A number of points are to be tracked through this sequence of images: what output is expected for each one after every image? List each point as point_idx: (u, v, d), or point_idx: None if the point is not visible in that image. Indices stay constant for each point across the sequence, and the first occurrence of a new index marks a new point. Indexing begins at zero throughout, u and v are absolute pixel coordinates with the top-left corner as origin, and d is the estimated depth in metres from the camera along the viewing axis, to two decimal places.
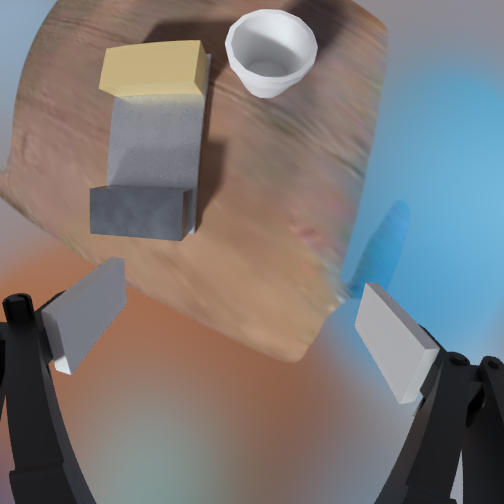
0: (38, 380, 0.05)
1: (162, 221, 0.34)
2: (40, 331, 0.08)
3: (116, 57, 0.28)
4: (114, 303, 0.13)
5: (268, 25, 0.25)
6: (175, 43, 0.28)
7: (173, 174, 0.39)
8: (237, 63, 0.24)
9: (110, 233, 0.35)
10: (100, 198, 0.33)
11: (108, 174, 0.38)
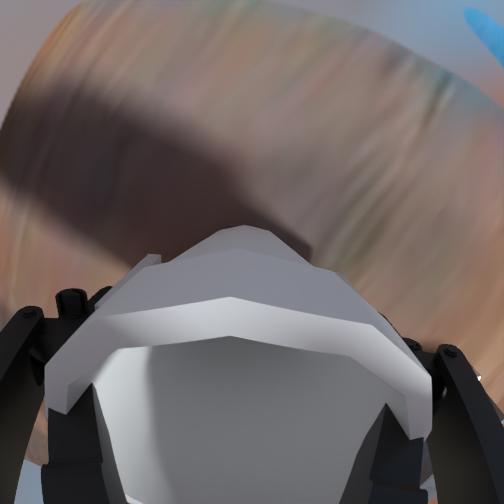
0: None
1: None
2: None
3: None
4: None
5: (117, 395, 0.08)
6: None
7: None
8: None
9: None
10: None
11: None
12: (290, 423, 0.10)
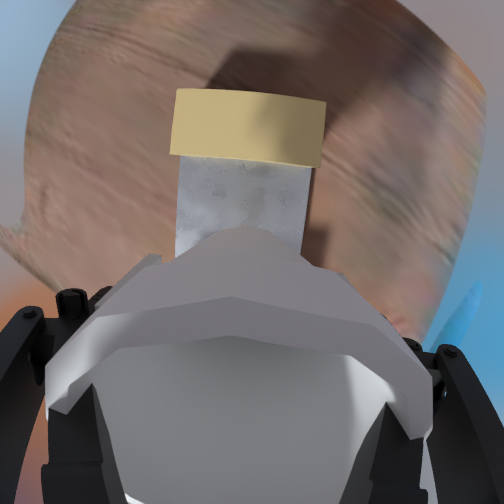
0: None
1: None
2: None
3: (195, 106, 0.22)
4: None
5: (118, 395, 0.08)
6: (290, 100, 0.22)
7: None
8: None
9: None
10: None
11: None
12: (290, 423, 0.10)
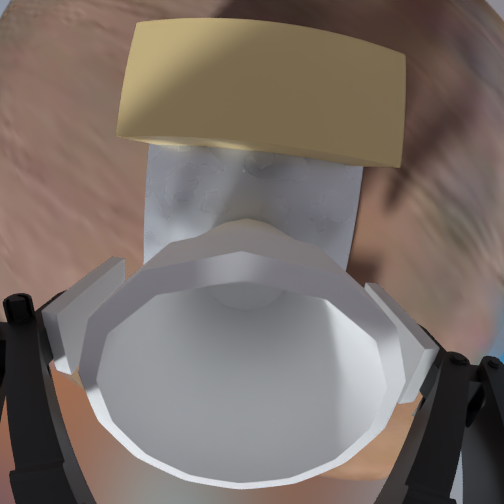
0: (38, 380, 0.05)
1: None
2: (40, 331, 0.08)
3: (167, 48, 0.10)
4: None
5: (137, 359, 0.10)
6: (347, 42, 0.10)
7: None
8: (310, 472, 0.08)
9: None
10: None
11: None
12: (287, 391, 0.12)
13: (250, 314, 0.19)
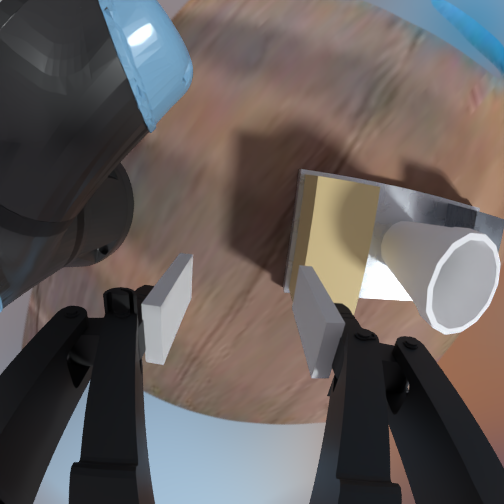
0: (129, 377, 0.06)
1: (491, 237, 0.26)
2: (140, 324, 0.10)
3: None
4: (186, 296, 0.15)
5: (443, 312, 0.23)
6: (317, 211, 0.25)
7: (434, 223, 0.31)
8: (496, 258, 0.19)
9: None
10: None
11: None
12: (466, 250, 0.23)
13: None
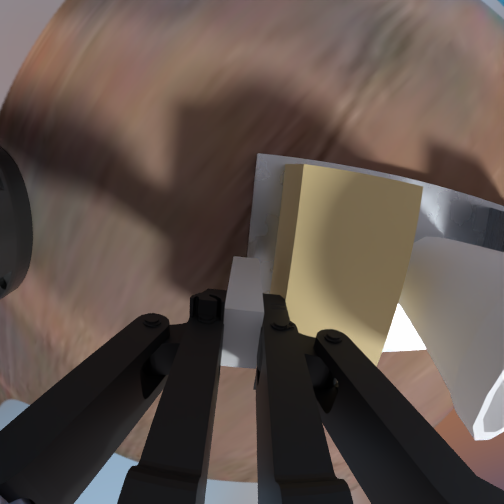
0: (207, 386, 0.07)
1: None
2: (222, 328, 0.10)
3: None
4: None
5: None
6: (304, 237, 0.12)
7: (471, 238, 0.19)
8: None
9: None
10: None
11: None
12: None
13: None
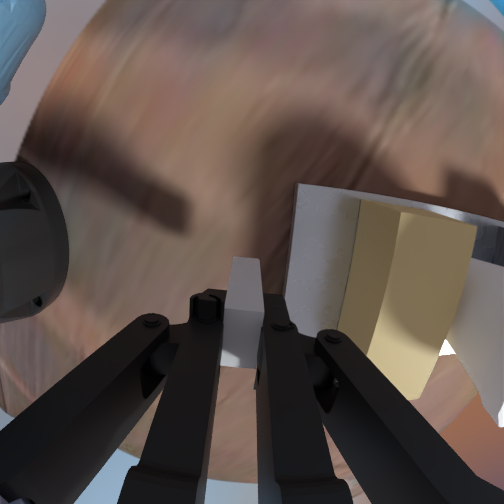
0: (207, 386, 0.07)
1: None
2: (222, 328, 0.10)
3: None
4: None
5: None
6: (396, 270, 0.14)
7: (481, 254, 0.20)
8: None
9: None
10: None
11: (451, 352, 0.23)
12: None
13: None
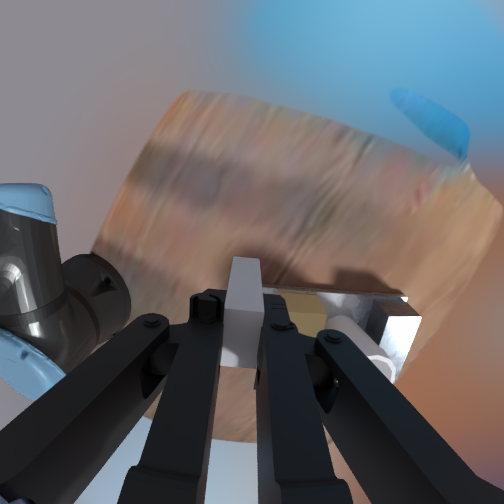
0: (207, 386, 0.07)
1: (404, 331, 0.38)
2: (222, 328, 0.10)
3: None
4: None
5: None
6: None
7: (359, 314, 0.44)
8: (391, 366, 0.31)
9: (399, 369, 0.40)
10: None
11: None
12: None
13: None
